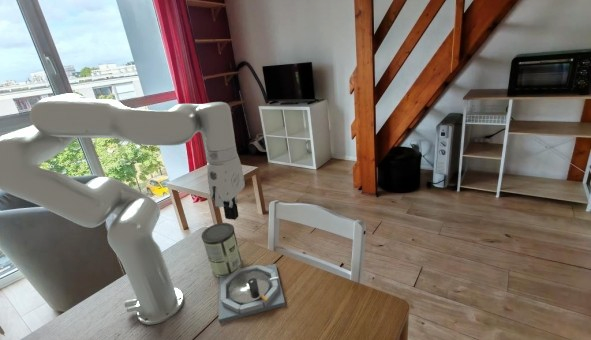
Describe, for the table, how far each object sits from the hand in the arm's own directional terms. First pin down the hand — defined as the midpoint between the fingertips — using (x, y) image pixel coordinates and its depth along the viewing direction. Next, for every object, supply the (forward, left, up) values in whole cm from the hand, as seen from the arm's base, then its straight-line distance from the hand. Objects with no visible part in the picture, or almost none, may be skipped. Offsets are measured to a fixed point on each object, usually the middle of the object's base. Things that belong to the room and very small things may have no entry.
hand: (232, 217), depth 80 cm
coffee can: (-6, +12, -25) cm, 29 cm away
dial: (+1, -2, -24) cm, 24 cm away
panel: (+1, -2, -25) cm, 25 cm away
